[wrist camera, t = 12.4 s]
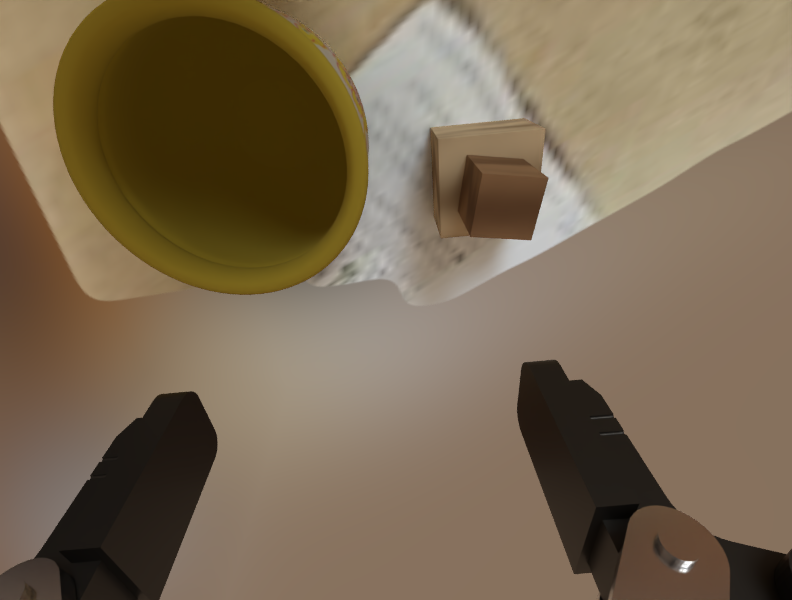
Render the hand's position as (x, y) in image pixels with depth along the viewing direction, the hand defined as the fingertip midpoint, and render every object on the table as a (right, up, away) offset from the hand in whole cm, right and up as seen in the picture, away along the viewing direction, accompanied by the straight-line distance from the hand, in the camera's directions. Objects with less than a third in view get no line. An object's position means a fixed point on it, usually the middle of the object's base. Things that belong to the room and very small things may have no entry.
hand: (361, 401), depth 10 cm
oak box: (+9, +16, +31) cm, 36 cm away
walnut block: (+9, +13, +26) cm, 30 cm away
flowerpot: (-10, +19, +28) cm, 36 cm away
